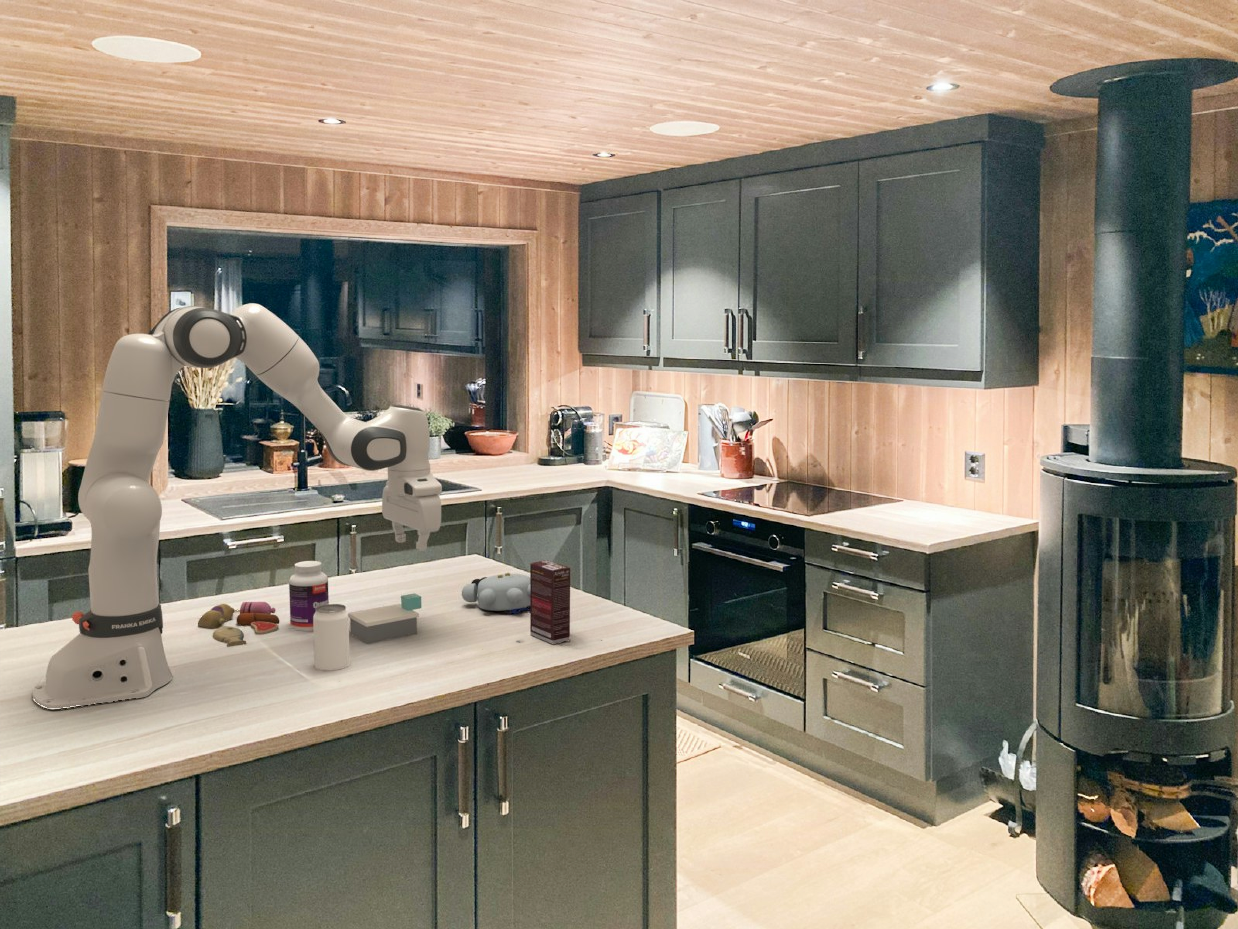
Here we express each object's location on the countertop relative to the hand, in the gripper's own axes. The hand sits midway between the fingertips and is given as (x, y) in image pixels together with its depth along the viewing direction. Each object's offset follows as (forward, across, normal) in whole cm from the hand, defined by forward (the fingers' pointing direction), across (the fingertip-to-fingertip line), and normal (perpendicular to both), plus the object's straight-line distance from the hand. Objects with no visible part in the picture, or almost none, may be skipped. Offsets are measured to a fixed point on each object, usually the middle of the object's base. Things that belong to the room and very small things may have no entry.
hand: (410, 546), depth 215 cm
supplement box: (+19, +21, +21) cm, 36 cm away
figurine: (+19, -6, +26) cm, 33 cm away
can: (+19, +12, -23) cm, 32 cm away
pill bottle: (+19, -15, -17) cm, 29 cm away
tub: (+19, 0, -7) cm, 20 cm away
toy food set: (+19, -26, -28) cm, 42 cm away
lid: (+15, 0, -6) cm, 16 cm away
